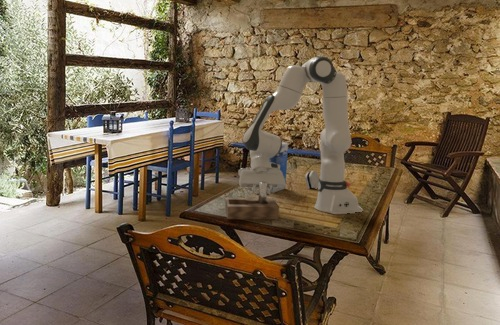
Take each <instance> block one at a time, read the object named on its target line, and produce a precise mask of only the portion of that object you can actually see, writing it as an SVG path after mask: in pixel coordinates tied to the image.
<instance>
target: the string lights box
mask: <svg viewBox="0 0 500 325" xmlns="http://www.w3.org/2000/svg"><path fill="white" fill-rule="evenodd" d="M288 151H289V143H288V142H282V150H281V152H280V153H279V154H277V155H276V156H274V157H273V158H270V159H269V162H272V163H275V164H278V165H280V170H281V171H282V173H283V177H284V186H283V187H282V188H272V189H271V191H270V193H273V194H274V193H277V192H280V191H282V190H286V185H287V184H286V183H287V168H288V165H287V164H288V154H289V153H288ZM267 190H269V189H268V187H267Z"/></svg>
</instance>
